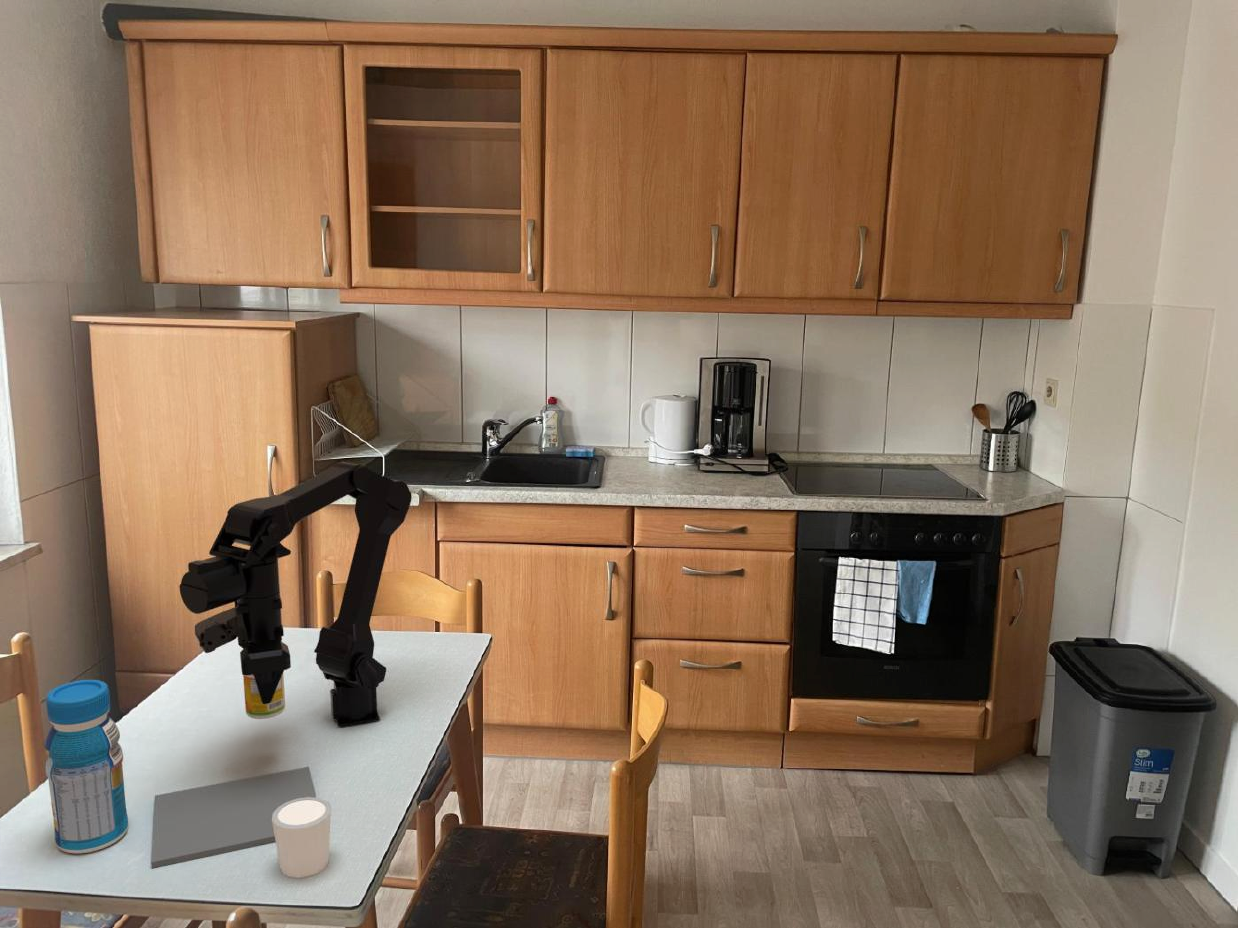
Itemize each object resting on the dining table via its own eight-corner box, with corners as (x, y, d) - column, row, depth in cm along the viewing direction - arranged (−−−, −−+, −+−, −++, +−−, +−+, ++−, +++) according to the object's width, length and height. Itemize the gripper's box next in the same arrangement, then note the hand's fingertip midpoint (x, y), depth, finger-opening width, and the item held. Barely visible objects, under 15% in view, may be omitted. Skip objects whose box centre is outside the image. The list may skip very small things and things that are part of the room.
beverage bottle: (78, 864, 116) (61, 711, 112) (40, 841, 120) (23, 694, 116) (144, 830, 123) (130, 685, 119) (106, 810, 127) (92, 670, 123)
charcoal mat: (309, 771, 138) (308, 766, 138) (323, 831, 123) (323, 825, 123) (155, 800, 130) (154, 795, 130) (151, 868, 115) (151, 862, 115)
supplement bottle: (252, 703, 141) (248, 641, 139) (289, 702, 141) (286, 640, 139) (241, 720, 136) (236, 656, 134) (280, 719, 136) (276, 655, 134)
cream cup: (279, 887, 112) (276, 833, 111) (271, 855, 118) (267, 804, 117) (339, 871, 115) (336, 818, 114) (328, 841, 121) (325, 791, 120)
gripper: (195, 578, 140) (202, 678, 143) (197, 622, 123) (205, 733, 126) (275, 570, 144) (281, 666, 147) (287, 611, 128) (294, 719, 131)
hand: (264, 694), depth 138 cm, fingers closed on supplement bottle, 5 cm apart
